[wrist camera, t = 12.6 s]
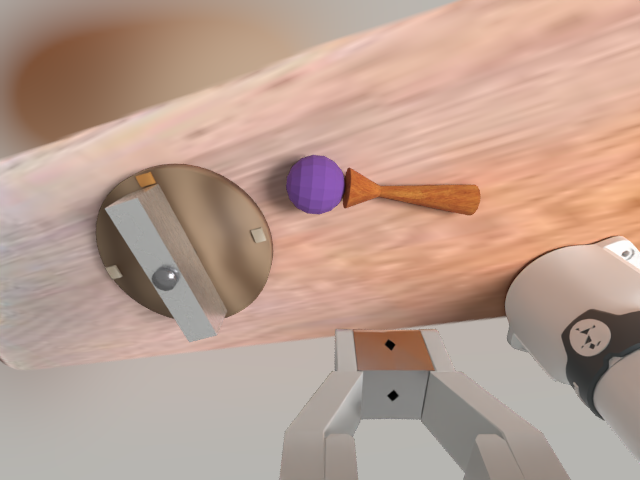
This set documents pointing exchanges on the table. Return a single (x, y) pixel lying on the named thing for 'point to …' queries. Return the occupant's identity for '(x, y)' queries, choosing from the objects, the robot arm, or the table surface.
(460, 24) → the table surface
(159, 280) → the bar
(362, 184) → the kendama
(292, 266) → the table surface
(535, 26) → the table surface
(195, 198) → the lock plate
